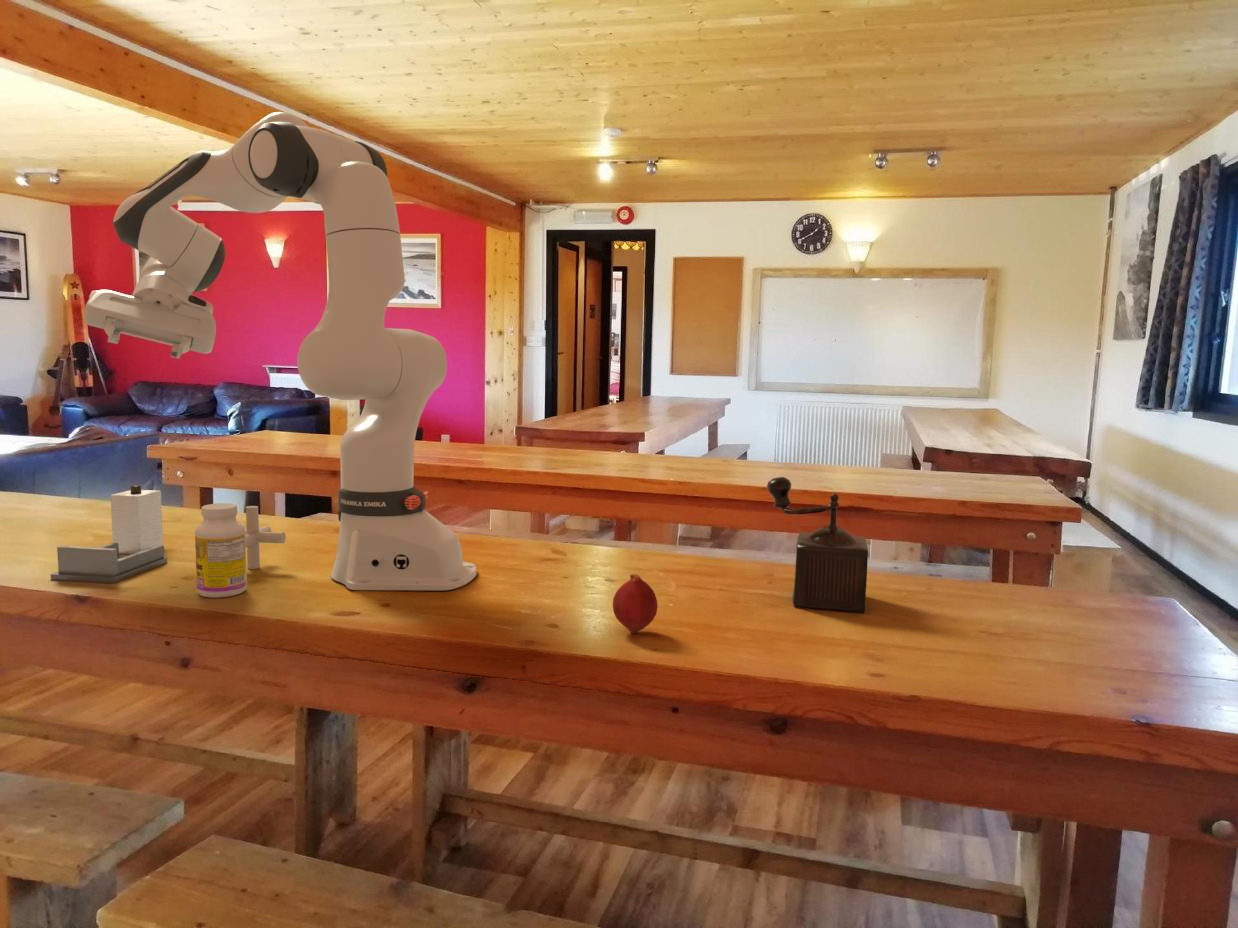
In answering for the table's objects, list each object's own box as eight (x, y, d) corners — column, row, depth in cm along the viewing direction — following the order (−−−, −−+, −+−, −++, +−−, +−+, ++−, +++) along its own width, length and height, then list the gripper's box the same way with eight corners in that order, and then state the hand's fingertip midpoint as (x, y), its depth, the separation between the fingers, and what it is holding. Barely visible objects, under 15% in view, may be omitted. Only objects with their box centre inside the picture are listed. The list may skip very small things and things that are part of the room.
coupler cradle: (167, 562, 142) (166, 533, 141) (112, 583, 129) (110, 551, 129) (110, 558, 143) (109, 530, 142) (50, 579, 130) (49, 548, 130)
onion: (631, 622, 118) (632, 565, 117) (665, 632, 114) (667, 573, 113) (603, 632, 113) (605, 573, 112) (638, 643, 110) (640, 581, 109)
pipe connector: (271, 576, 135) (269, 513, 134) (208, 574, 135) (205, 511, 134) (296, 561, 145) (295, 502, 144) (237, 559, 145) (235, 500, 144)
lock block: (163, 546, 153) (160, 483, 151) (140, 554, 147) (137, 489, 145) (136, 545, 153) (133, 482, 152) (113, 552, 147) (110, 488, 146)
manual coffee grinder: (862, 594, 135) (870, 480, 133) (866, 614, 125) (874, 491, 122) (762, 585, 139) (767, 474, 136) (757, 604, 128) (763, 484, 126)
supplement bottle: (200, 587, 128) (197, 502, 127) (249, 585, 130) (246, 501, 129) (193, 600, 122) (190, 510, 120) (244, 597, 124) (241, 509, 122)
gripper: (95, 272, 150) (75, 314, 139) (222, 307, 159) (212, 348, 148) (90, 303, 153) (71, 345, 143) (215, 335, 162) (205, 377, 152)
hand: (144, 347), depth 146 cm, fingers open, 8 cm apart
